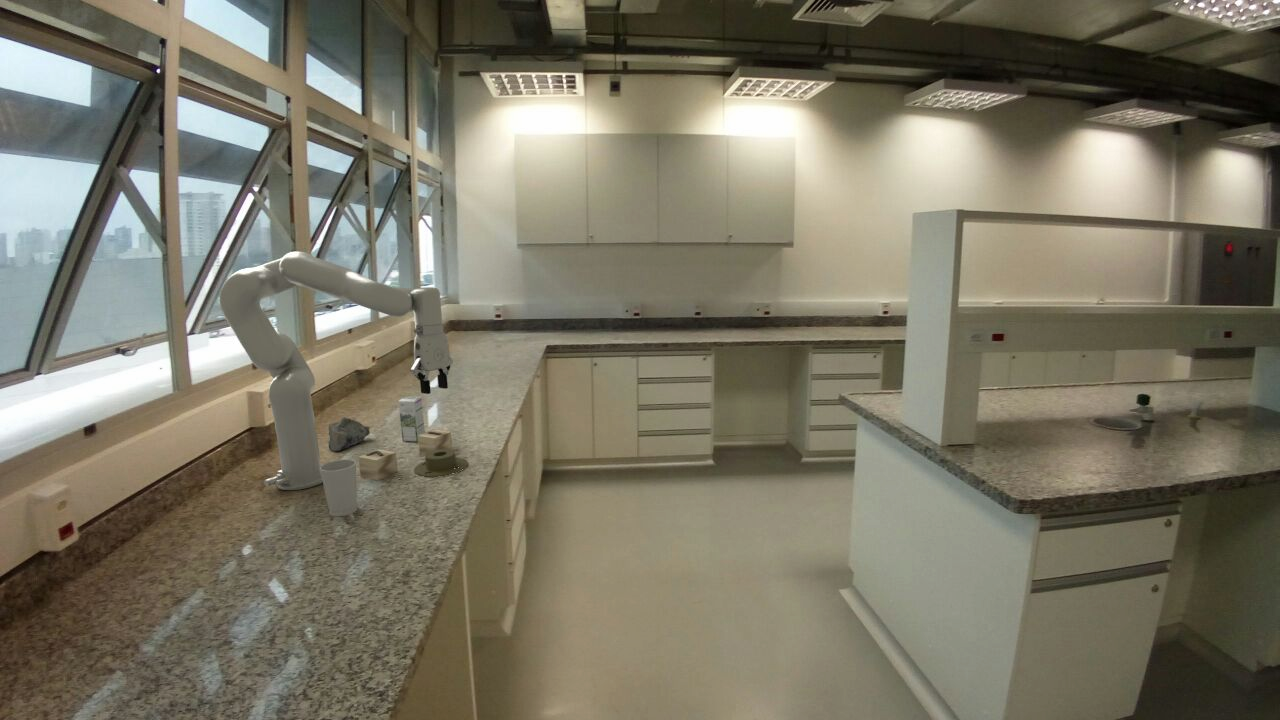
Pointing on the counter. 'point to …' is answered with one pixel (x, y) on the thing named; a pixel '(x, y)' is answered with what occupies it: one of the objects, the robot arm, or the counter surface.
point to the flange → (440, 463)
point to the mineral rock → (346, 433)
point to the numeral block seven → (378, 464)
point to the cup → (340, 486)
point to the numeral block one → (434, 441)
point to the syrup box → (411, 418)
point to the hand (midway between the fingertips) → (434, 390)
